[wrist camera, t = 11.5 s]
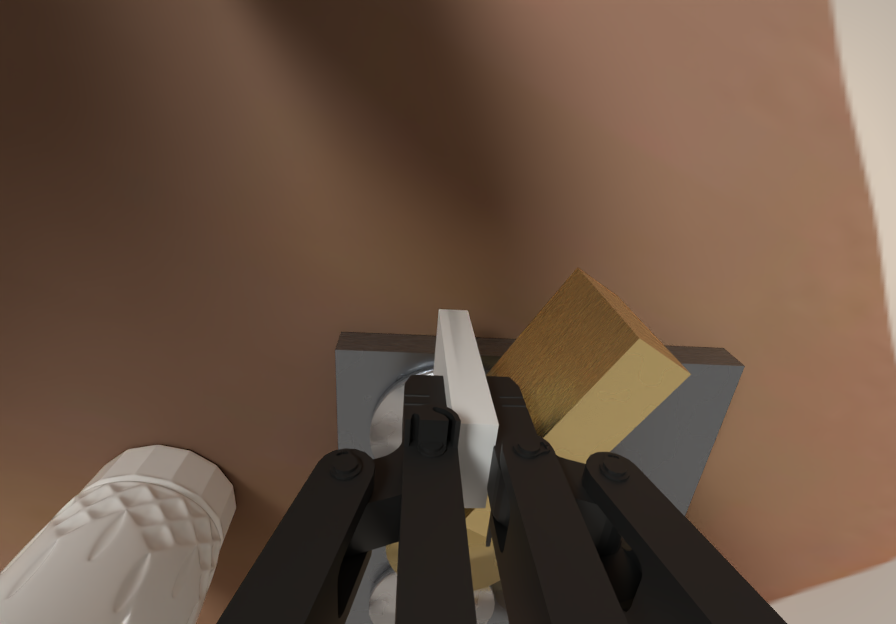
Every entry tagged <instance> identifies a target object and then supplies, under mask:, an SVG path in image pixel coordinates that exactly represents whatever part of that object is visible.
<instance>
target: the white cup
mask: <svg viewBox="0 0 896 624" xmlns="http://www.w3.org/2000/svg"><path fill="white" fill-rule="evenodd" d="M235 510H236V502H235V495H234V489H233V485H232V484H231V482H230V481H229V480H228V479H227V477H226V476H225V475H224V474H223V473H222V471H221V470H220V469H219V468H218V466H217V465H215V464H213V463H212V462H210V461H208V460H206V459H205V458H203V457H201V456H199V455H197V454H196V453H194V452H192V451H190V450H185V449H180V448H174V447H169V446H164V445H152V446H145V447H139V448H132V449H128V450H126V451H124V452H123V453H121V454H120V455H119V456H117V457H116V458H114V459H113V460H111V461H110V462H108V463H107V464H106V465H105V466H104V467H103V468H102V469H101V470H100V471H99V472H98V473H97V474H96V475H95V476H94V477H93V479H92V480H91V481H90V482H89V483H88V484H87V485H86V486H85V487H84V488H83V489H82V491H81V492H80V493H79V494H78V495H76V496H75V497H74V498H72V499H71V500H70V501H69V502H68V503H67V504H66V505H65V506H64V507H63V508H62V509H61V510H60V511H59V512H58V513H57V514H56V515H55V516H54V517H53V518H52V519H51V521H50V522H49V523H48V524H47V525H46V526H45V527H44V528H43V529H42V530H41V531H40V532H38V533H37V534H36V535H35V536H34V537H33V538H32V539H31V540H30V541H29V542H28V543H27V544H26V546H25V547H24V548H23V549H22V550H21V551H20V552H19V553H18V554H17V555H16V556H15V557H14V558H13V559H12V560H11V561H10V563H9V564H8V565H7V566H6V567H5V568H4V569H3V570H2V571H1V572H0V624H196V623H197V620H198V617H199V615H200V612H201V609H202V607H203V604H204V601H205V598H206V595H207V592H208V589H209V586H210V584H211V581H212V578H213V575H214V572H215V569H216V566H217V564H218V556H219V551H220V549H221V546H222V544H223V541H224V538H225V536H226V533H227V531H228V528H229V526H230V523H231V521H232V518H233V515H234V513H235Z"/></svg>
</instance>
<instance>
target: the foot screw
mask: <svg viewBox="0 0 896 624" xmlns="http://www.w3.org/2000/svg"><path fill="white" fill-rule="evenodd" d="M690 375H691V374H690V373H689V371H688V370H687V369H686V368H685V367H684V366H683V365H682V364H681V363H680V362H679V361H678V360H677V359H676V358H675V357H674V356H673V354H672V353H671V352H670V351H669V350H668V349H667V348H666V347H665V346H664V345H663V344H662V343H661V342H660V341H659V340H658V339H657V337H656V336H655V335H654V334H653V333H652V332H651V331H650V330H649V329H648V328H647V327H646V326H645V325H644V324H643V323H642V322H641V320H640V319H639V318H638V317H637V316H636V315H635V314H634V313H633V312H632V311H631V310H630V309H629V308H628V307H627V306H626V305H625V304H624V302H623V301H622V300H621V299H620V298H619V297H618V296H617V295H615V294H614V293H613V292H611V291H610V290H609V289H607V288H606V287H604V286H603V285H602V284H600V283H599V282H597V281H596V280H595V279H593V278H592V277H590V276H589V275H588V274H586V273H585V272H584V271H582V270H581V269H579V268H577V269H576V270H575V271H574V272H573V273H572V275H571V276H570V277H569V278H568V279H567V280H566V282H565V283H564V284H563V285H562V286H561V288H560V289H559V290H558V291H557V292H556V293H555V295H554V296H553V297H552V298H551V299H550V300H549V302H548V303H547V304H546V305H545V306H544V307H543V309H542V310H541V311H540V312H539V313H538V315H537V316H536V317H535V318H534V319H533V320H532V322H531V323H530V324H529V325H528V326H527V327H526V329H525V330H524V331H523V332H522V333H521V335H520V336H519V337H518V338H517V339H516V340H515V342H514V343H513V344H512V345H511V346H510V347H509V349H508V350H507V351H506V352H505V353H504V355H503V356H502V357H501V358H500V359H499V360H498V362H497V363H496V364H495V365H494V366H493V367H492V369H491V370H490V371H489V372H488V373H487V374H486V376H499V377H510V378H511V379H512V380H513V381H514V382H515V383H516V384H517V385H518V386H519V387H520V390H521V393H522V395H523V399H524V401H525V403H526V407H527V409H528V411H529V414H530V417H531V419H532V422H533V424H534V427H535V430H536V432H537V435H538V436H540V437H542V438H543V439H545V440H546V441H548V442H549V443H550V445H551V446H552V448H553V449H554V451H555V453H556V455H557V456H559V457H562V458H565V459H568V460H572V461H576V462H580V463H584V464H586V460H587V459H588V458H589V456H590V455H591V454H594V453H596V452H610V451H611V450H612V449H613V448H614V447H616V446H617V445H618V444H619V443H620V442H621V441H622V440H623V439H624V438H625V437H626V436H627V435H628V434H629V433H630V432H631V431H632V430H633V429H634V428H635V427H637V426H638V425H639V424H640V423H641V422H642V421H643V420H644V419H645V418H646V417H647V416H648V415H649V414H650V413H651V412H652V411H653V410H654V409H655V408H656V407H657V406H659V405H660V404H661V403H662V402H663V401H664V400H665V399H666V398H667V397H668V396H669V395H670V394H671V393H672V392H673V391H674V390H675V389H676V388H677V387H678V386H680V385H681V384H682V383H683V382H684V381H685V380H686V379H687V378H688V377H689V376H690ZM464 510H465V519H466V528H467V537H468V546H469V555H470V564H471V573H472V582H473V591H475V590H479V589H482V588H485V587H487V586H490V585H492V584H494V583H496V582H498V581H500V576H499V571H498V566H497V561H496V556H495V551H494V546H493V541H492V538H491V544H490V547H486V536H487V530H488V524H489V518H490V512H491V508H490V503H489V498H488V495H487V501H486V507H485V508H464ZM386 555H387V559H388V561H389V563H390V565H391V567H392V568H393V570H394V571H395V572H396V573H397V564H398V542H396V543H393V544H390V545H386Z"/></svg>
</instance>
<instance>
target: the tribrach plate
mask: <svg viewBox="0 0 896 624" xmlns="http://www.w3.org/2000/svg"><path fill="white" fill-rule="evenodd" d="M475 339H476V343H477V346H478V350H479V354H480V357H481V361H482V365H483V368H484V372H485V376H486V374H487V373H488V372H489V371H490V370H491V369H492V367H493V366H494V365H495V364H496V363H497V362H498V360H499V359H500V358H501V357H502V356H503V355H504V353H505V352H506V351H507V350H508V349H509V347H510V346H511V345H512V344H513V343H514V342H515V340H516V339H496V338H475ZM665 347H666V348H667V349H668V350H669V351H670V352H671V353H672V354H673V356H674V357H675V358H676V359H677V360H678V361H679V362H680V363H681V364H682V365H683V366H684V367H685V368H686V369H687V370H688V371H689V373H690V374H691V375H690V376H689V377H688V378H687V379H686V380H685V381H684V382H683V383H682V384H681V385H680V386H678V387H677V388H676V389H675V390H674V391H673V392H672V393H671V394H670V395H669V396H668V397H667V398H666V399H665V400H664V401H663V402H662V403H661V404H660V405H659V406H657V407H656V408H655V409H654V410H653V411H652V412H651V413H650V414H649V415H648V416H647V417H646V418H645V419H644V420H643V421H642V422H641V423H640V424H639V425H638V426H637V427H635V428H634V429H633V430H632V431H631V432H630V433H629V434H628V435H627V436H626V437H625V438H624V439H623V440H622V441H621V442H620V443H619V444H618V445H617V446H616V447H614V448H613V449H612V450H611V451H610V452H611V453H615V454H619V455H621V456H623V457H625V458H627V459H629V460H630V461H631V462H632V463H634V464H635V465H636V466H637V467H638V468H639V469H640V470H641V471H642V472H643V473H644V474H645V475H646V476H647V477H648V478H649V479H650V480H651V482H652V483H653V484H654V485H655V486H656V487H657V488H658V489H659V490H660V491H661V492H662V493H663V494H664V495H665V496H666V497H667V498H668V499H669V500H670V501H671V502H672V504H673V505H674V506H675V507H676V508H677V509H678V510H679V511H680V512H681V513H682V514H683V515H684V516H685V515H686V512H687V510H688V507H689V505H690V502H691V500H692V497H693V495H694V492H695V490H696V487H697V485H698V482H699V480H700V477H701V474H702V472H703V469H704V467H705V464H706V462H707V459H708V457H709V454H710V452H711V449H712V447H713V444H714V442H715V439H716V437H717V434H718V432H719V429H720V427H721V424H722V422H723V419H724V417H725V414H726V412H727V409H728V407H729V404H730V402H731V399H732V397H733V394H734V392H735V389H736V387H737V384H738V382H739V379H740V377H741V374H742V372H743V369H744V367H745V366H744V365H743V364H742V363H741V362H739V361H738V360H737V359H736V358H735V357H734V356H732V355H731V354H730V353H729V352H728V351H727V350H725V349H724V348H706V347H683V346H665ZM435 348H436V336H426V335H403V334H379V333H356V332H341V334H340V337H339V340H338V343H337V346H336V349H335V359H336V392H337V425H338V450H339V449H344V448H348V449H357V450H360V451H363V452H366V453H367V454H368V455H369V456H370V457H371V458H372V459H376V458H380V457H383V456H386V455H389V454H391V453H392V452H394V451H395V450H396V449H397V448H399V446H400V445H401V443H402V419H403V401H404V384H405V382H406V381H407V380H408V378H409V377H410V376H411V375H433V371H434V359H435ZM396 586H397V573H396V572H395V571H394V570H393V568H392V567H391V565H390V563H389V561H388V559H387V555H386V546H383V547H380V548H377V549H374V550H372V554H371V557H370V560H369V563H368V565H367V568H366V570H365V573H364V576H363V578H362V581H361V583H360V586H359V589H358V591H357V594H356V597H355V599H354V602H353V604H352V607H351V610H350V612H349V615H348V617H347V620H346V623H345V624H395V608H396ZM474 600H475V609H476V619H477V624H509V620H508V615H507V610H506V605H505V600H504V595H503V590H502V585H501V581H498V582H496V583H494V584H492V585H490V586H487V587H485V588H482V589H479V590H475V591H474Z"/></svg>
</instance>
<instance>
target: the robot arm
mask: <svg viewBox="0 0 896 624" xmlns="http://www.w3.org/2000/svg"><path fill="white" fill-rule="evenodd" d="M487 495H488V498H489V503H490V508H491V512H490V518H489V524H488V530H487V536H486V547H490V544H491V538H492V541H493V546H494V551H495V556H496V561H497V566H498V571H499V576H500V581H501V585H502V590H503V595H504V600H505V605H506V610H507V615H508V620H509V624H787V623H786V622H785V621H784V620H783V619H782V618H781V617H780V616H779V615H778V614H777V612H776V611H775V610H774V609H773V608H772V607H771V606H770V605H769V604H768V603H767V602H766V601H765V600H764V599H763V598H762V597H761V596H760V595H759V594H758V593H757V591H756V590H755V589H754V588H753V587H752V586H751V585H750V584H749V583H748V582H747V581H746V580H745V579H744V578H743V577H742V576H741V575H740V574H739V573H738V572H737V571H736V569H735V568H734V567H733V566H732V565H731V564H730V563H729V562H728V561H727V560H726V559H725V558H724V557H723V556H722V555H721V554H720V553H719V552H718V551H717V550H716V549H715V547H714V546H713V545H712V544H711V543H710V542H709V541H708V540H707V539H706V538H705V537H704V536H703V535H702V534H701V533H700V532H699V531H698V530H697V529H696V528H695V527H694V525H693V524H692V523H691V522H690V521H689V520H688V519H687V518H686V517H685V516H684V515H683V514H682V513H681V512H680V511H679V510H678V509H677V508H676V507H675V506H674V505H673V504H672V502H671V501H670V500H669V499H668V498H667V497H666V496H665V495H664V494H663V493H662V492H661V491H660V490H659V489H658V488H657V487H656V486H655V485H654V484H653V483H652V482H651V480H650V479H649V478H648V477H647V476H646V475H645V474H644V473H643V472H642V471H641V470H640V469H639V468H638V467H637V466H636V465H635V464H634V463H632V462H631V461H630V460H629V459H627V458H625V457H623V456H621V455H619V454H615V453H611V452H596V453H594V454H591V455H590V456H589V458H588V459H587V460H586V464H584V463H580V462H576V461H572V460H568V459H565V458H562V457H559V456H557V455H556V453H555V451H554V449H553V448H552V446H551V445H550V443H549V442H548V441H546V440H545V439H543V438H542V437H540V436H538V435H537V432H536V430H535V427H534V424H533V422H532V419H531V417H530V414H529V411H528V409H527V407H526V403H525V401H524V399H523V395H522V393H521V390H520V387H519V386H518V385H517V384H516V383H515V382H514V381H513V380H512V379H511V378H510V377H499V376H485V372H484V368H483V365H482V361H481V357H480V354H479V350H478V346H477V343H476V339H475V335H474V332H473V328H472V324H471V321H470V317H469V313H468V310H449V309H439V312H438V324H437V336H436V348H435V359H434V371H433V375H411V376H410V377H409V378H408V380H407V381H406V382H405V384H404V401H403V419H402V443H401V445H400V446H399V448H397V449H396V450H395V451H394V452H392V453H391V454H389V455H386V456H383V457H380V458H376V459H372V458H371V457H370V456H369V455H368V454H367V453H366V452H363V451H360V450H357V449H348V448H344V449H339V450H335V451H332V452H331V453H329V454H327V455H325V456H324V457H323V458H322V459H321V460H320V461H319V462H318V463H317V465H316V467H315V468H314V470H313V471H312V473H311V475H310V476H309V478H308V479H307V481H306V482H305V484H304V486H303V487H302V489H301V490H300V492H299V494H298V495H297V497H296V498H295V500H294V501H293V503H292V505H291V506H290V508H289V509H288V511H287V513H286V514H285V516H284V517H283V519H282V520H281V522H280V524H279V525H278V527H277V528H276V530H275V532H274V533H273V535H272V536H271V538H270V539H269V541H268V543H267V544H266V546H265V547H264V549H263V551H262V552H261V554H260V555H259V557H258V558H257V560H256V562H255V563H254V565H253V566H252V568H251V570H250V571H249V573H248V574H247V576H246V577H245V579H244V581H243V582H242V584H241V585H240V587H239V589H238V590H237V592H236V593H235V595H234V596H233V598H232V600H231V601H230V603H229V604H228V606H227V608H226V609H225V611H224V612H223V614H222V615H221V617H220V619H219V620H218V622H217V623H216V624H345V623H346V620H347V617H348V615H349V612H350V610H351V607H352V604H353V602H354V599H355V597H356V594H357V591H358V589H359V586H360V583H361V581H362V578H363V576H364V573H365V570H366V568H367V565H368V563H369V560H370V557H371V554H372V550H374V549H377V548H380V547H383V546H386V545H390V544H393V543H396V542H398V564H397V586H396V608H395V624H477V619H476V609H475V600H474V591H473V582H472V573H471V564H470V555H469V546H468V537H467V528H466V519H465V510H464V508H485V507H486V501H487Z"/></svg>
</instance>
